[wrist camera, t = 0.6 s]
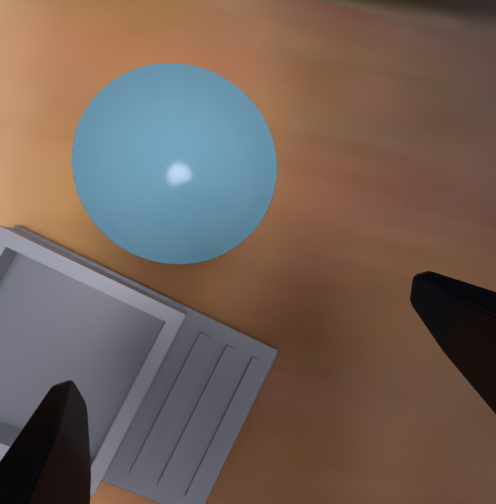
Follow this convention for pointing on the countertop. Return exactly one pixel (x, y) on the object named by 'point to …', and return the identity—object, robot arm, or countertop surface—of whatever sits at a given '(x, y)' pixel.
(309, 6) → the countertop surface
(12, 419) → the kitchen sink with drainboard
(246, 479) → the countertop surface
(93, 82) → the countertop surface
